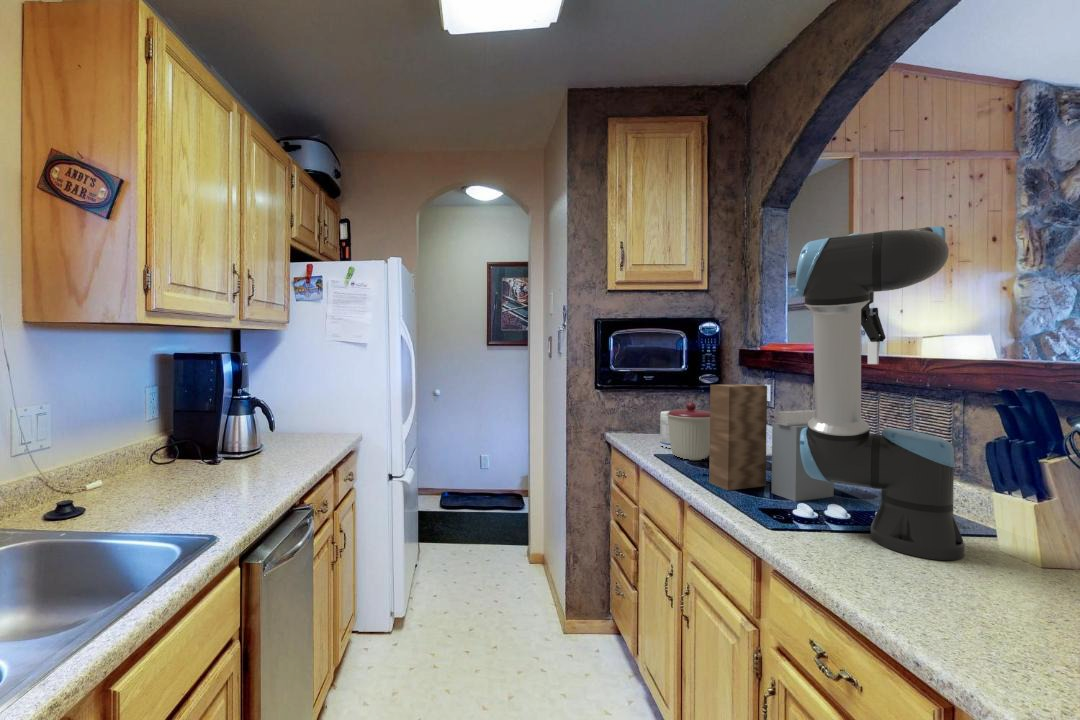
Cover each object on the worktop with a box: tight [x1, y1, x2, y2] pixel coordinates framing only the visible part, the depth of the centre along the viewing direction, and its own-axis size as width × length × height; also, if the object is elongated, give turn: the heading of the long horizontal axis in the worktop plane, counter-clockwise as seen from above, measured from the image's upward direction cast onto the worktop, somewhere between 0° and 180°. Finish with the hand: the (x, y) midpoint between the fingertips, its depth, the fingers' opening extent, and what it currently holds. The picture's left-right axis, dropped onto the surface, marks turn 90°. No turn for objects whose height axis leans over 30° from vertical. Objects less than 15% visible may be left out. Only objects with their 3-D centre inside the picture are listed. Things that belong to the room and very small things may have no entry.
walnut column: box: [708, 383, 768, 491], centre depth 141 cm, size 14×8×30 cm, turn 110°
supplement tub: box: [659, 410, 671, 446], centre depth 197 cm, size 10×10×15 cm
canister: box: [666, 401, 710, 461], centre depth 177 cm, size 18×18×21 cm
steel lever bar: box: [776, 409, 815, 426], centre depth 132 cm, size 25×4×4 cm, turn 109°
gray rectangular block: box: [770, 422, 835, 502], centre depth 131 cm, size 14×8×20 cm, turn 110°
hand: (856, 364), depth 134 cm, fingers open, 13 cm apart
